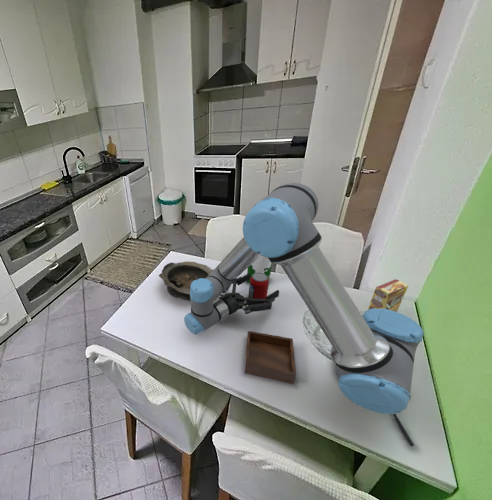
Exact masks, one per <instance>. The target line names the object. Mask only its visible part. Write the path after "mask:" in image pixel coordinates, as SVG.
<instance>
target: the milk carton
mask: <svg viewBox="0 0 492 500" xmlns="http://www.w3.org/2000/svg"><path fill="white" fill-rule="evenodd" d="M272 266H273V263H271V262H270V260H269V259H268V257H264V256H260V257H259V258H258V259H256V260H255V261H254V262H253V263H252V264H251V265H250V266H249V267H248V268H247V269H246V270H247V271H246V275H247V274H250V278H251V277H252V275H253V274H254V273H264V274H265V275H266V276H267V278H268V280H270V276H271V274H272ZM246 283H248V284H250V280H248V281H246Z"/></svg>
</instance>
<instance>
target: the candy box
mask: <svg viewBox="0 0 492 500" xmlns="http://www.w3.org/2000/svg"><path fill="white" fill-rule="evenodd" d="M409 286H410V285H409V284H407V283H405V282H403V281H401V280H399V279H397V278H394V279H392V280H390V281H387V282H386V283H383V284H381V285H377V286H376V287H375V289H374V292H373V294H372V297H371V300H370V302H369V305H368V307H367V310H369V309H374V308H375V309H378V308H381V309H388V310H392V311H395V312H398V310H399V308H400V306H401V304H402V302H403V300H404V297H405V295H406V293H407V290H408V288H409Z"/></svg>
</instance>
